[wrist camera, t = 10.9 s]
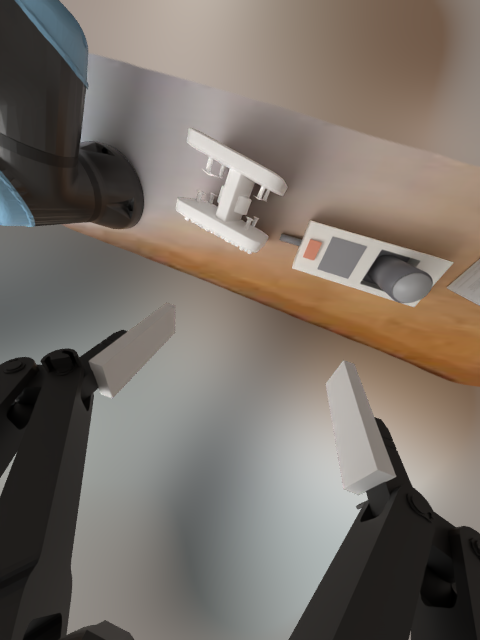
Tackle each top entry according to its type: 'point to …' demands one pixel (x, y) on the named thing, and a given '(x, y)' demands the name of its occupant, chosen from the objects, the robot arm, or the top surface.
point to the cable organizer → (230, 194)
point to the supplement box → (468, 284)
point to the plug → (400, 279)
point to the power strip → (354, 257)
